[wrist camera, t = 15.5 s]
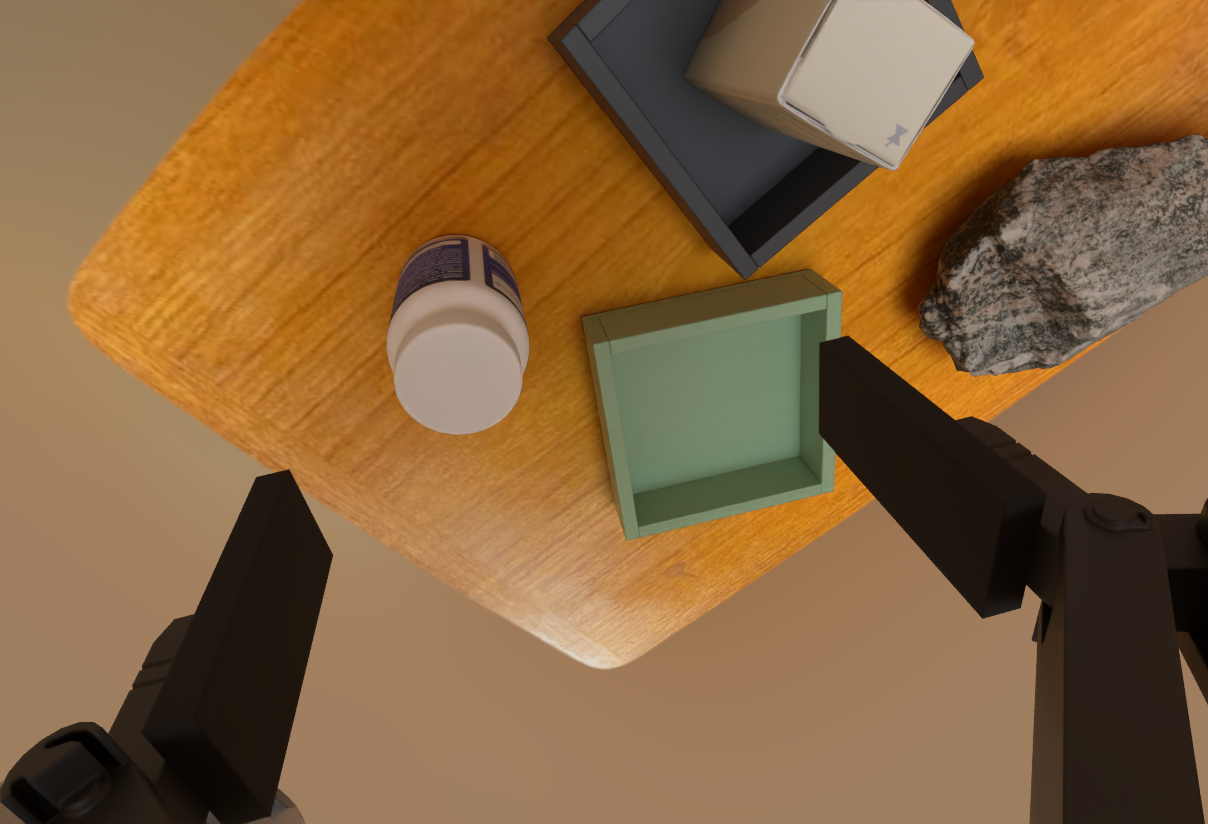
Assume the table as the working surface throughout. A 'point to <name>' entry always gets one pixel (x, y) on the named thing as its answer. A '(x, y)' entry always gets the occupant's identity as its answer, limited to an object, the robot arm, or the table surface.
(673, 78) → the box bin
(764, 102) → the box
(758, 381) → the bottle bin
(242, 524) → the robot arm
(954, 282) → the rock
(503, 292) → the pill bottle
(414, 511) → the table surface
